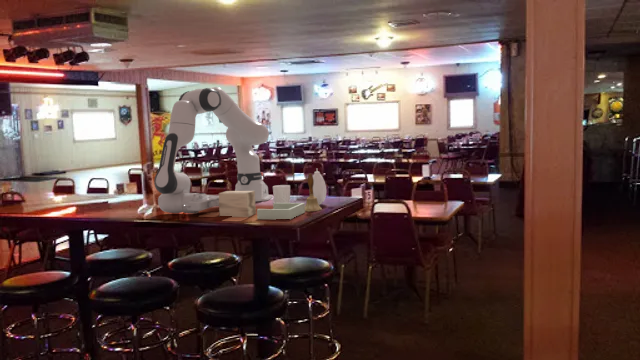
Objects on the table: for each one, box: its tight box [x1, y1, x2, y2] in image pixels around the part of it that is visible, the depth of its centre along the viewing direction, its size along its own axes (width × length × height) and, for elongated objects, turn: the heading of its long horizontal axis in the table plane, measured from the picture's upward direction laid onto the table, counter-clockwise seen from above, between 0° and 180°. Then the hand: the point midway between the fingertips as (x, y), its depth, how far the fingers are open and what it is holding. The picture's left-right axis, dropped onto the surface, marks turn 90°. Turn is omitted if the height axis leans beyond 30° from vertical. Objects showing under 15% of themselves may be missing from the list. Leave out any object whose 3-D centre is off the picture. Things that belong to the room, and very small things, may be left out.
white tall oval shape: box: [308, 169, 327, 206], centre depth 255 cm, size 8×8×18 cm
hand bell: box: [305, 173, 323, 212], centre depth 240 cm, size 8×8×16 cm
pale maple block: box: [218, 190, 257, 217], centre depth 234 cm, size 8×13×10 cm, turn 73°
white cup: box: [272, 184, 291, 203], centre depth 250 cm, size 8×8×10 cm
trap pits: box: [198, 211, 250, 222], centre depth 231 cm, size 20×24×1 cm
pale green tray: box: [256, 202, 306, 220], centre depth 228 cm, size 18×14×4 cm
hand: (221, 203), depth 236 cm, fingers closed
